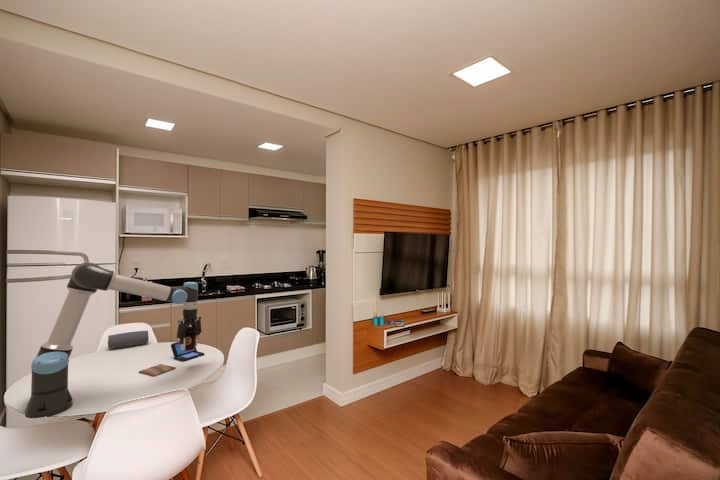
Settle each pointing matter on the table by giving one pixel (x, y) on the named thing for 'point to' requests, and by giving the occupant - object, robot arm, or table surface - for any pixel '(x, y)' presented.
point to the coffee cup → (190, 338)
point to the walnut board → (157, 370)
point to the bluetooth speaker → (127, 339)
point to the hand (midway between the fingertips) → (189, 347)
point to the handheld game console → (184, 353)
